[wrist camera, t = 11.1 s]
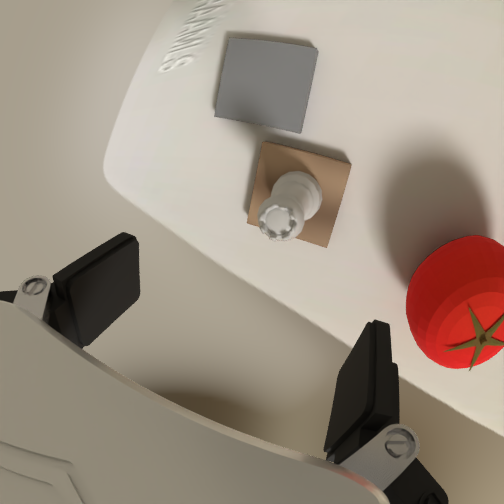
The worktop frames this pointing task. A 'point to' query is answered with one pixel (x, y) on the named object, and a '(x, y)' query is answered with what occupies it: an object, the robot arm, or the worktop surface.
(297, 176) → the rook chess piece
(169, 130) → the worktop surface
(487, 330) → the tomato
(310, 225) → the walnut coaster
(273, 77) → the charcoal coaster
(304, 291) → the worktop surface
